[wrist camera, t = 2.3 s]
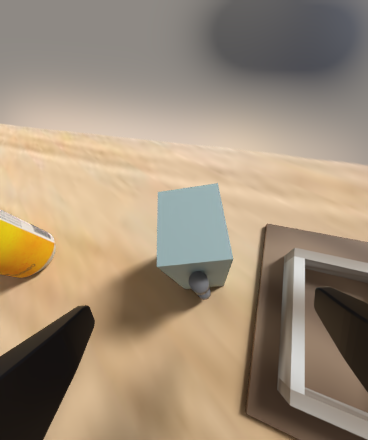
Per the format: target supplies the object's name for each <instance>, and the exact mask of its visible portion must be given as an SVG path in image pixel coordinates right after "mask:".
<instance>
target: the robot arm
mask: <svg viewBox="0 0 368 440" xmlns="http://www.w3.org/2000/svg"><path fill="white" fill-rule="evenodd" d="M314 308H315V311H316V313H317V315H318V316H319V318H320V320H321V321H322V323H323V325H324V327H325V328H326V330H327V332H328V333H329V335H330V337H331V338H332V340H333V342H334V343H335V345H336V347H337V348H338V350H339V352H340V353H341V355H342V357H343V358H344V360H345V361H346V363H347V364H348V366H349V367H350V368H351V370H352V371H353V373H354V374H355V376H356V377H357V378H358V380H359V381H360V383H361V384H362V385H363V387H364V388H365V390H366V391H367V392H368V303H366V302H364V301H361V300H359V299H357V298H355V297H352V296H350V295H348V294H346V293H343V292H341V291H339V290H337V289H334V288H332V287H329V286H323V287H317V288H316V289H315V295H314ZM94 324H95V320H94V317H93V315H92V312H91V309H90V307H89V306H87V305H85V306H78V307H76V308H74V309H73V310H71V311H70V312H68V313H67V314H65V315H63V316H62V317H60V318H59V319H57V320H56V321H54V322H53V323H51V324H50V325H48V326H47V327H45V328H43V329H42V330H40V331H39V332H37V333H36V334H34V335H33V336H31V337H30V338H28V339H27V340H25V341H23V342H22V343H20V344H19V345H17V346H16V347H14V348H13V349H11V350H10V351H8V352H6V353H5V354H3V355H2V356H0V440H43V439H44V437H45V435H46V433H47V431H48V429H49V427H50V424H51V422H52V420H53V418H54V416H55V414H56V412H57V410H58V408H59V406H60V404H61V402H62V400H63V398H64V396H65V393H66V391H67V389H68V387H69V385H70V383H71V381H72V379H73V377H74V375H75V373H76V370H77V368H78V366H79V363H80V361H81V358H82V356H83V353H84V351H85V348H86V346H87V343H88V341H89V338H90V336H91V333H92V331H93V328H94Z"/></svg>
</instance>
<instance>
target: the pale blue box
mask: <svg viewBox="0 0 368 440" xmlns="http://www.w3.org/2000/svg"><path fill="white" fill-rule="evenodd" d="M232 261H233V256H232V251H231V246H230V241H229V236H228V231H227V226H226V221H225V217H224V212H223V207H222V202H221V197H220V192H219V187H218V183H217V184H210V185H203V186H197V187H190V188H183V189H176V190H170V191H163V192H158V221H157V267H158V268H159V269H160V270H161V271H163V272H164V273H165V274H166V275H168V276H169V277H170V278H171V279H173V280H174V281H175V282H176V283H178V284H179V285H180V286H181V287H183V288H184V289H192V290H193V291H194V292H195V293H196V294H197V295H198V296H199V297H200V298H201V299H203V300H206V299H208V298H209V297H210V288H209V287H216V286H224V283H225V281H226V278H227V275H228V272H229V269H230V267H231V264H232Z"/></svg>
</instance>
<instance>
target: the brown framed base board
mask: <svg viewBox="0 0 368 440" xmlns="http://www.w3.org/2000/svg"><path fill="white" fill-rule="evenodd" d="M323 286H329V287H332V288H334V289H337V290H339V291H341V292H343V293H346V294H348V295H350V296H352V297H355V298H357V299H359V300H361V301H364V302H366V303H368V242H364V241H358V240H353V239H348V238H342V237H337V236H331V235H326V234H321V233H315V232H310V231H304V230H299V229H294V228H288V227H283V226H277V225H272V224H267V225H266V229H265V238H264V247H263V256H262V265H261V274H260V283H259V292H258V301H257V310H256V319H255V328H254V337H253V346H252V355H251V364H250V373H249V382H248V391H247V400H246V409H245V410H246V413H247V415H250V416H252V417H254V418H256V419H258V420H260V421H262V422H264V423H266V424H268V425H270V426H272V427H274V428H276V429H278V430H281V431H283V432H285V433H287V434H289V435H291V436H293V437H295V438H297V439H299V440H368V392H367V391H366V390H365V388H364V387H363V385H362V384H361V383H360V381H359V380H358V378H357V377H356V376H355V374H354V373H353V371H352V370H351V368H350V367H349V366H348V364H347V363H346V361H345V360H344V358H343V357H342V355H341V353H340V352H339V350H338V348H337V347H336V345H335V343H334V342H333V340H332V338H331V337H330V335H329V333H328V332H327V330H326V328H325V327H324V325H323V323H322V321H321V320H320V318H319V316H318V315H317V313H316V311H315V308H314V295H315V289H316V288H317V287H323Z"/></svg>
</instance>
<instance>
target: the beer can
mask: <svg viewBox="0 0 368 440" xmlns="http://www.w3.org/2000/svg"><path fill="white" fill-rule="evenodd" d="M55 250H56V245H55V241H54V238H53V236H52V235H51V234H50V233H48V232H46V231H44V230H42V229H40V228H38V227H36V226H34V225H32V224H29V223H27V222H25V221H23V220H21V219H19V218H17V217H15V216H13V215H11V214H9V213H7V212H5V211H2V210H0V274H1V275H7V276H12V277H18V278H24V277H28V276H30V275H32V274H35V273H37V272H39V271H41V270H42V269H44V268H45V267H46V266H47V265H48V264H49V263H50V261H51V260H52V258H53V256H54V254H55Z"/></svg>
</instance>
